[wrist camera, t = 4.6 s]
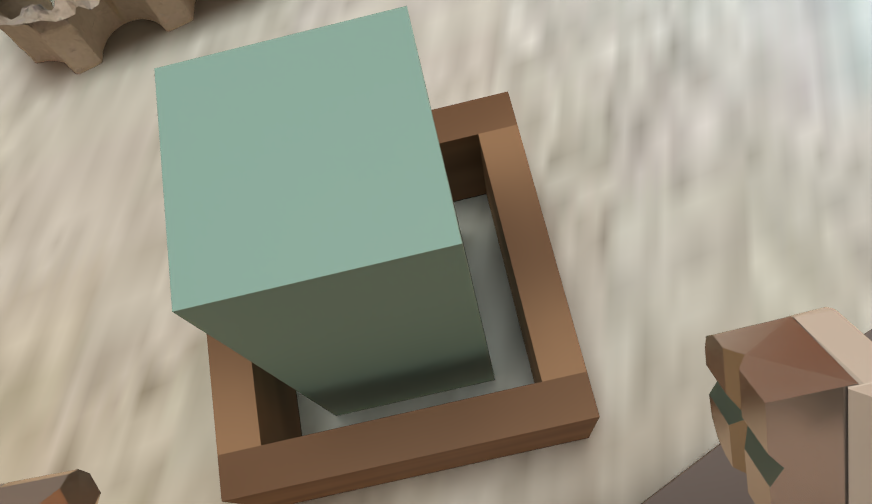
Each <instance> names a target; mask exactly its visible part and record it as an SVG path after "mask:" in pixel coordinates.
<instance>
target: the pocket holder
mask: <svg viewBox="0 0 872 504" xmlns="http://www.w3.org/2000/svg"><path fill="white" fill-rule="evenodd" d="M432 114H433V119H434V123H435V127H436V131H437V135H438V140H439V144H440V148H441V152H442V156H443V161H444V165H445V169H446V173H447V177H448V182H449V186H450V190H451V194H452V198H453V201H457V200H461V199H465V198H470V197H474V196H478V195H482V194H487V197H488V201H489V205H490V209H491V213H492V217H493V221H494V225H495V229H496V233H497V237H498V241H499V245H500V249H501V252H502V256H503V260H504V264H505V268H506V272H507V276H508V280H509V284H510V288H511V292H512V296H513V300H514V304H515V308H516V312H517V316H518V319H519V323H520V327H521V331H522V335H523V339H524V343H525V347H526V351H527V355H528V359H529V363H530V367H531V371H532V375H533V379H534V384H530V385H525V386H521V387H517V388H512V389H508V390H503V391H499V392H495V393H490V394H486V395H481V396H477V397H473V398H468V399H464V400H459V401H455V402H451V403H446V404H442V405H437V406H433V407H428V408H424V409H420V410H415V411H411V412H406V413H402V414H398V415H393V416H389V417H384V418H380V419H376V420H371V421H367V422H362V423H358V424H354V425H349V426H345V427H340V428H336V429H331V430H327V431H323V432H318V433H314V434H309V435H305V436H302V434H301V426H300V419H299V411H298V404H297V396H296V390H295V389H293V388H292V387H290V386H289V385H287V384H285V383H284V382H282V381H281V380H279V379H278V378H276V377H274V376H273V375H271V374H270V373H268V372H267V371H265V370H263V369H262V368H260V367H259V366H257V365H256V364H254V363H252V362H251V361H249V360H248V359H246V358H244V357H243V356H241V355H240V354H238V353H237V352H235V351H233V350H232V349H230V348H229V347H227V346H226V345H224V344H222V343H221V342H219V341H218V340H216V339H215V338H213V337H211V336H210V335H208V334H207V342H208V354H209V365H210V376H211V387H212V398H213V409H214V420H215V431H216V442H217V454H218V465H219V476H220V487H221V498H222V502H230V503H238V504H294V503H298V502H303V501H307V500H311V499H316V498H320V497H325V496H329V495H334V494H338V493H343V492H347V491H352V490H356V489H361V488H365V487H370V486H374V485H379V484H383V483H388V482H392V481H397V480H401V479H406V478H410V477H415V476H419V475H423V474H428V473H432V472H437V471H441V470H446V469H450V468H455V467H459V466H464V465H468V464H473V463H477V462H482V461H486V460H491V459H495V458H500V457H504V456H509V455H513V454H518V453H522V452H526V451H531V450H535V449H540V448H544V447H549V446H553V445H558V444H562V443H567V442H571V441H576V440H580V439H585V438H589V436H590V434H591V432H592V430H593V428H594V427H595V425H596V423H597V421H598V419H599V417H600V416H599V413H598V409H597V406H596V402H595V399H594V395H593V392H592V388H591V385H590V381H589V377H588V374H587V370H586V367H585V363H584V360H583V356H582V353H581V349H580V346H579V342H578V338H577V335H576V331H575V328H574V324H573V321H572V317H571V314H570V310H569V307H568V303H567V299H566V296H565V292H564V289H563V285H562V282H561V278H560V275H559V271H558V268H557V264H556V260H555V257H554V253H553V250H552V246H551V243H550V239H549V236H548V232H547V228H546V225H545V221H544V218H543V214H542V211H541V207H540V204H539V200H538V197H537V193H536V189H535V186H534V182H533V179H532V175H531V172H530V168H529V165H528V161H527V158H526V154H525V150H524V147H523V143H522V140H521V136H520V133H519V129H518V126H517V122H516V119H515V115H514V111H513V108H512V104H511V101H510V97H509V94H508V92H504V93H500V94H496V95H492V96H487V97H483V98H479V99H475V100H471V101H467V102H463V103H459V104H455V105H450V106H446V107H442V108H438V109H434V110H432Z"/></svg>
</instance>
